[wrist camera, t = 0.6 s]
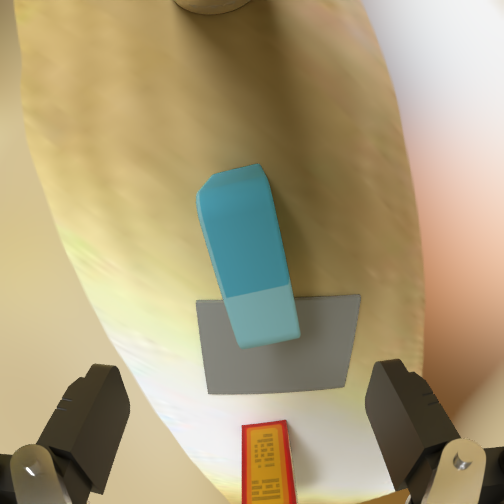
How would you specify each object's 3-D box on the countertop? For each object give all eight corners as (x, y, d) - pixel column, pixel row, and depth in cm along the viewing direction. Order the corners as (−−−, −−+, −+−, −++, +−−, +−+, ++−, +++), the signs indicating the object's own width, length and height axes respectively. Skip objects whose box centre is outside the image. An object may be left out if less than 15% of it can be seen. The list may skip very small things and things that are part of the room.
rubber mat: (196, 300, 34) (195, 302, 33) (359, 294, 34) (361, 296, 33) (208, 390, 39) (208, 394, 38) (343, 384, 39) (344, 387, 38)
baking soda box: (291, 451, 45) (301, 532, 30) (252, 456, 45) (255, 537, 30) (285, 419, 41) (297, 514, 26) (241, 425, 42) (241, 519, 27)
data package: (285, 276, 33) (303, 346, 22) (242, 285, 33) (241, 359, 22) (259, 161, 29) (268, 177, 18) (212, 173, 29) (191, 196, 18)
